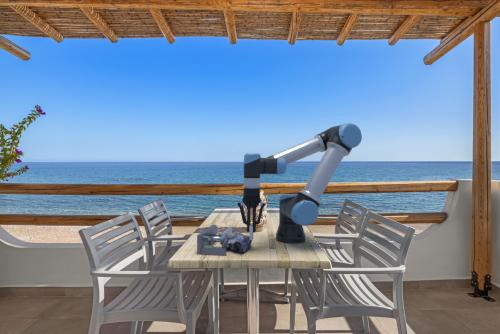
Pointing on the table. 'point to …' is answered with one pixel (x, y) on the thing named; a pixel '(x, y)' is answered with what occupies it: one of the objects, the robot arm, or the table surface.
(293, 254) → the table surface
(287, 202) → the robot arm
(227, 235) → the gauge plunger
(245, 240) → the rock
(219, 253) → the frame
